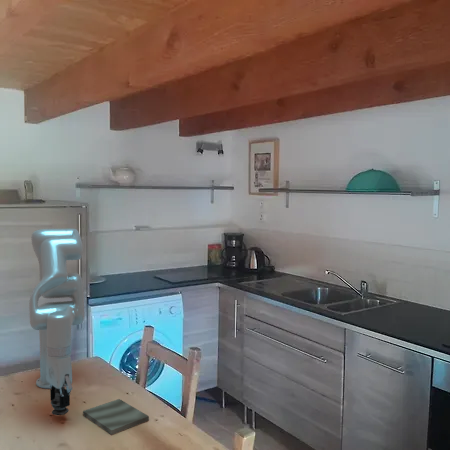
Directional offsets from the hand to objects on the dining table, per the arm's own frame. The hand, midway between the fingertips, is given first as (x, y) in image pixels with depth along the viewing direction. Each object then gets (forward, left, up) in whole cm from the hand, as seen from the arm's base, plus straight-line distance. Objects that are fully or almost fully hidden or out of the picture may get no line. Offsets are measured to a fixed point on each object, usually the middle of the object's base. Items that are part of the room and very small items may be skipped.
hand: (60, 402), depth 163 cm
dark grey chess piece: (0, 0, -3) cm, 3 cm away
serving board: (+12, +14, -6) cm, 19 cm away
